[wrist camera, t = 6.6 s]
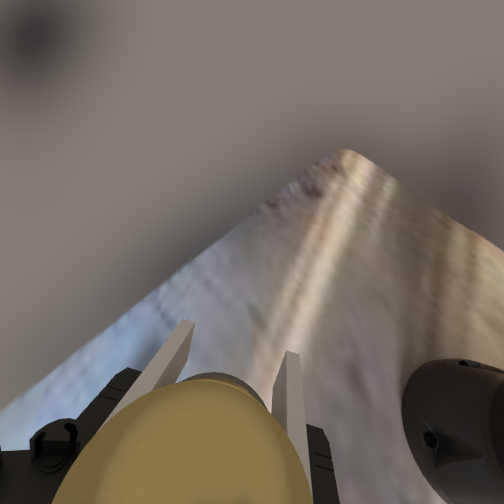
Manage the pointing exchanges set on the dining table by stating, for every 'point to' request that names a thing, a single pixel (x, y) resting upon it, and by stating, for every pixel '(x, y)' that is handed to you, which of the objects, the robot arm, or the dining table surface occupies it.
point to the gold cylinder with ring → (189, 451)
